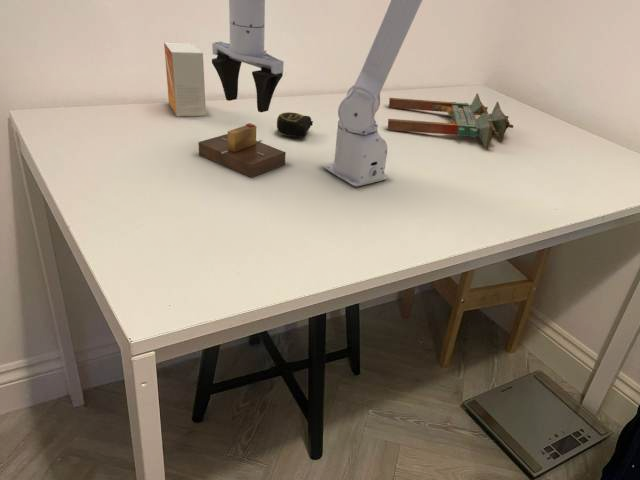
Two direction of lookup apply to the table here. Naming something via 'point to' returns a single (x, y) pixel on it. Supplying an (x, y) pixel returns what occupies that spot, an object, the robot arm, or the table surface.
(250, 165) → the plate
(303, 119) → the tape measure
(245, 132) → the thumb turn
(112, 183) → the table surface
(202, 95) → the small box
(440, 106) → the miniature gate
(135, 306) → the table surface
